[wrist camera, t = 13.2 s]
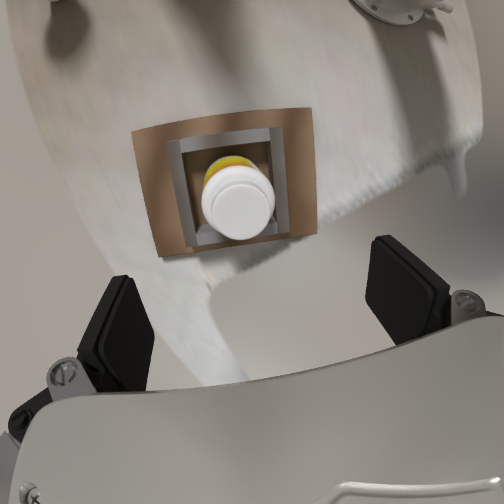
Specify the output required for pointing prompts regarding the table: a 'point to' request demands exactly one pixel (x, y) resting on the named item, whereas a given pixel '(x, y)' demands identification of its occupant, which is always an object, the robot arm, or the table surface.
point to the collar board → (209, 150)
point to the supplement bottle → (237, 198)
